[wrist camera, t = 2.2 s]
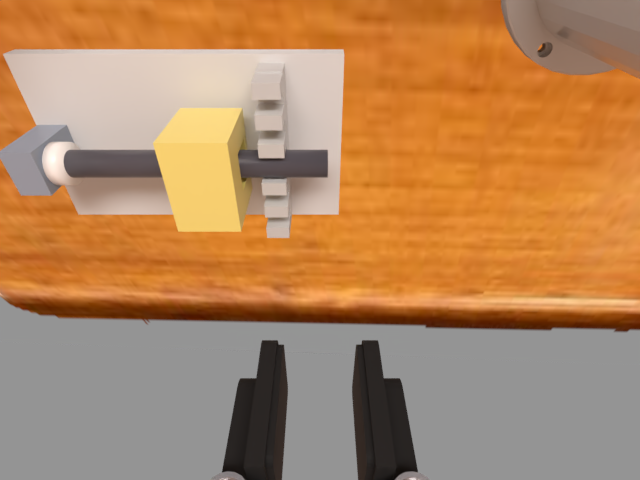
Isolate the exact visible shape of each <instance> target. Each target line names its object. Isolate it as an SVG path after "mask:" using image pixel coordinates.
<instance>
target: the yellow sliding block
mask: <svg viewBox="0 0 640 480" xmlns="http://www.w3.org/2000/svg"><path fill="white" fill-rule="evenodd" d="M153 145H154V149H155V152H156V156H157V159H158V163H159V166H160V170H161V173H162V177H163V180H164V184H165V187H166V191H167V194H168V198H169V201H170V205H171V208H172V212H173V215H174V219H175V222H176V226H177V229H178V232H241V231H242V227H243V223H244V219H245V215H246V211H247V208H248V204H249V200H250V196H251V192H252V181H251V178H241V174H240V167H239V160H238V152H239V150H248V149H247V141H246V133H245V125H244V117H243V109H242V108H180V109H179V110H178V112H177V113H176V114H175V115H174V117H173V118H172V119H171V121H170V122H169V123H168V124H167V126H166V127H165V128H164V130H163V131H162V132H161V133H160V135H159V136H158V137H157V138H156V140H155V141H154V142H153Z"/></svg>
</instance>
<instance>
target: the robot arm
mask: <svg viewBox="0 0 640 480" xmlns="http://www.w3.org/2000/svg"><path fill="white" fill-rule="evenodd" d="M501 8H502V13H503V17H504V21H505V25H506V28H507V30H508V32H509V34H510V36H511V38H512V39H513V41H514V43H515V44H516V45H517V47H518V48H519V49H520V50H521V51H522V52H523V53H524V55H525V56H527V57H528V58H530V59H531V60H532V61H534V62H535V63H537V64H538V65H540V66H542V67H544V68H546V69H548V70H550V71H553V72H557V73H562V74H566V75H592V74H598V73H603V72H608V71H611V70H614V69H619V70H622V71H624V72H626V73H628V74H630V75H632V76H634V77H636V78H639V79H640V0H501ZM540 45H542V47H541V49H540V50H538V48H539V47H540ZM287 400H288V382H287V371H286V361H285V350H284V345H279V344H278V340H262V342H261V348H260V355H259V362H258V369H257V376H256V378H240V380H239V382H238V386H237V391H236V397H235V402H234V408H233V413H232V419H231V425H230V430H229V436H228V441H227V447H226V452H225V458H224V463H223V469H222V473H219V474H217V475H216V476H214V477H212V478H211V479H210V480H282V472H283V457H284V443H285V428H286V414H287ZM352 400H353V414H354V428H355V442H356V457H357V472H358V480H430V479H429V478H428V477H426V476H424V475H423V474H421V473H418V469H417V463H416V458H415V452H414V447H413V441H412V436H411V430H410V425H409V419H408V413H407V408H406V402H405V397H404V391H403V386H402V382H401V380H400V378H384V376H383V369H382V362H381V355H380V348H379V342H378V340H362V344H361V345H356V350H355V361H354V372H353V382H352Z"/></svg>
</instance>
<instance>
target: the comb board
mask: <svg viewBox="0 0 640 480" xmlns="http://www.w3.org/2000/svg"><path fill="white" fill-rule="evenodd" d="M3 56H4V58H5V60H6V62H7V64H8V66H9V68H10V70H11V73H12V75H13V77H14V79H15V81H16V83H17V85H18V87H19V90H20V92H21V94H22V96H23V98H24V100H25V102H26V104H27V106H28V109H29V111H30V113H31V115H32V117H33V119H34V121H35V123H36V126H35V127H34V128H32V129H31V130H29V131H28V132H27V133H25V134H24V135H22V136H21V137H19V138H18V139H16V140H15V141H14V142H12V143H11V144H9V145H8V146H6V147H5V148H3V149H2V150H1V151H0V159H1V161H2V163H3V164H4V166H5V168H6V170H7V172H8V173H9V175H10V177H11V179H12V180H13V182H14V184H15V186H16V188H17V189H18V191H19V193H20V195H21V196H52V195H53V194H54V193H55V192H56V191H57V190H58V189H59V188H60V187H61V186H62V185H65V187H66V189H67V191H68V193H69V195H70V198H71V200H72V202H73V204H74V206H75V208H76V210H77V212H78V214H79V215H173V212H172V208H171V205H170V201H169V198H168V194H167V191H166V187H165V184H164V180H163V177H162V173H161V170H160V166H159V163H158V159H157V156H156V152H155V149H154V145H153V142H154V141H155V140H156V138H157V137H158V136H159V135H160V133H161V132H162V131H163V130H164V128H165V127H166V126H167V124H168V123H169V122H170V121H171V119H172V118H173V117H174V115H175V114H176V113H177V112H178V110H179V109H180V108H242V109H243V117H244V125H245V133H246V141H247V149H248V150H239V152H238V160H239V167H240V174H241V178H251V181H252V192H251V196H250V200H249V204H248V208H247V211H246V215H265V217H268V221H267V227H266V230H267V238H290V228H291V219H292V215H339V189H340V161H341V134H342V106H343V79H344V49H14V50H12V51H9V52H7V53H4V54H3Z"/></svg>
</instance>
